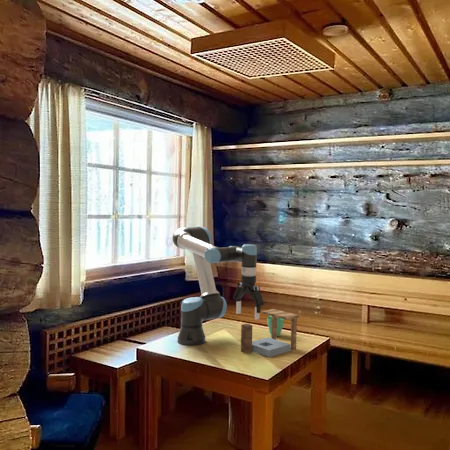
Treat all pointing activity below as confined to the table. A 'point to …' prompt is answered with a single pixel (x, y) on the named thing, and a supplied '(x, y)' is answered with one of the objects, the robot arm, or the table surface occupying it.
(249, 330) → the peg
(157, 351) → the table surface
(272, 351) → the socket block
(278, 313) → the wooden arch frame
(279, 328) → the green tapered vase
